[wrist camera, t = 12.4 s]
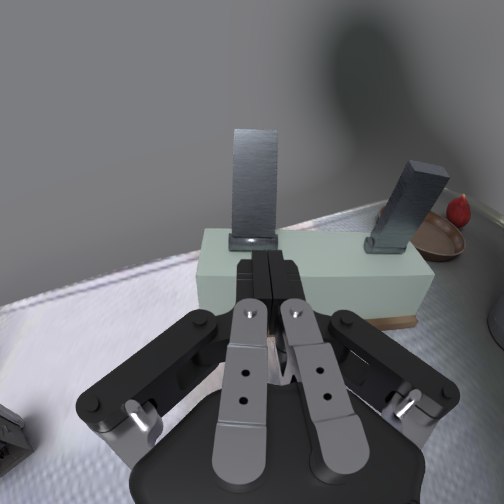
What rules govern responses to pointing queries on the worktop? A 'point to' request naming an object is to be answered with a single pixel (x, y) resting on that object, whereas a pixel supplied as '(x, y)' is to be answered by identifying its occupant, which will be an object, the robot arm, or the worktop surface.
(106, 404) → the robot arm
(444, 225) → the plant saucer
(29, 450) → the electrical switch
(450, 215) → the onion
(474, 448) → the worktop surface
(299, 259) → the block
